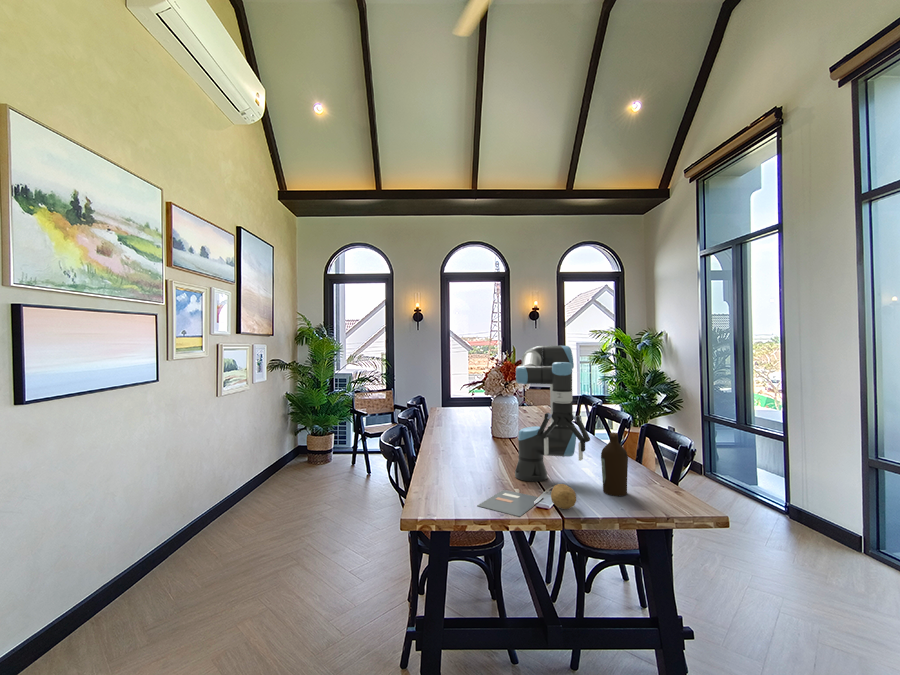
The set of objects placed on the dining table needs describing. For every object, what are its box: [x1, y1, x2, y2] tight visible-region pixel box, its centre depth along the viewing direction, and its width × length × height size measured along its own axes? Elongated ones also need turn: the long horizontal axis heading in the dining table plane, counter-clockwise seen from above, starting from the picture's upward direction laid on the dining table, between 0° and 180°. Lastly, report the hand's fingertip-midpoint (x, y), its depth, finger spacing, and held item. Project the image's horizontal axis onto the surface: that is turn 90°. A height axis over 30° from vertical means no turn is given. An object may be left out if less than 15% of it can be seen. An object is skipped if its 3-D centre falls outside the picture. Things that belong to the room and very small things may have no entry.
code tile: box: [477, 489, 539, 518], centre depth 161 cm, size 22×18×1 cm
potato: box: [550, 483, 577, 510], centre depth 157 cm, size 10×14×8 cm
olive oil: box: [600, 431, 629, 497], centre depth 173 cm, size 11×11×25 cm
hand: (563, 457), depth 158 cm, fingers open, 13 cm apart
